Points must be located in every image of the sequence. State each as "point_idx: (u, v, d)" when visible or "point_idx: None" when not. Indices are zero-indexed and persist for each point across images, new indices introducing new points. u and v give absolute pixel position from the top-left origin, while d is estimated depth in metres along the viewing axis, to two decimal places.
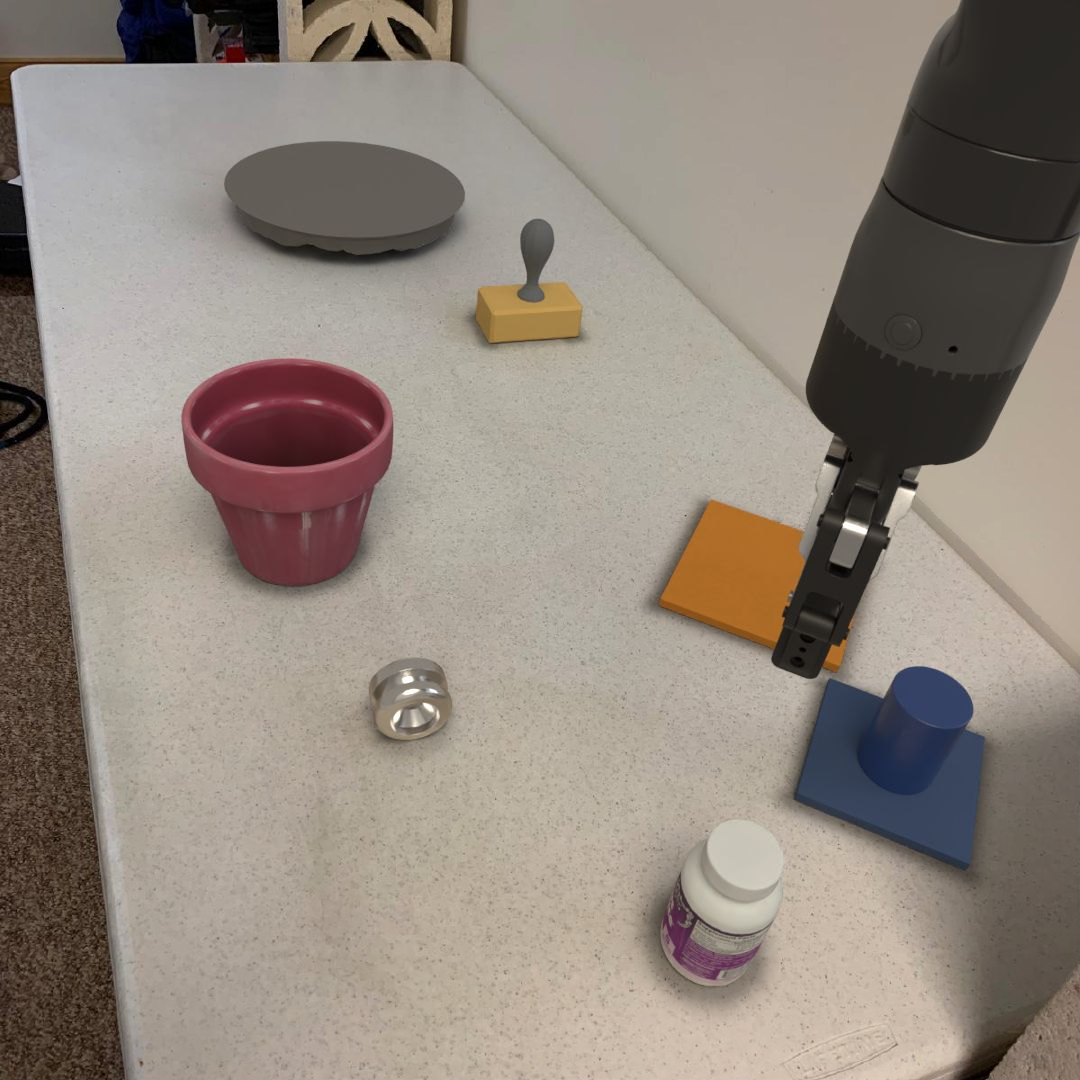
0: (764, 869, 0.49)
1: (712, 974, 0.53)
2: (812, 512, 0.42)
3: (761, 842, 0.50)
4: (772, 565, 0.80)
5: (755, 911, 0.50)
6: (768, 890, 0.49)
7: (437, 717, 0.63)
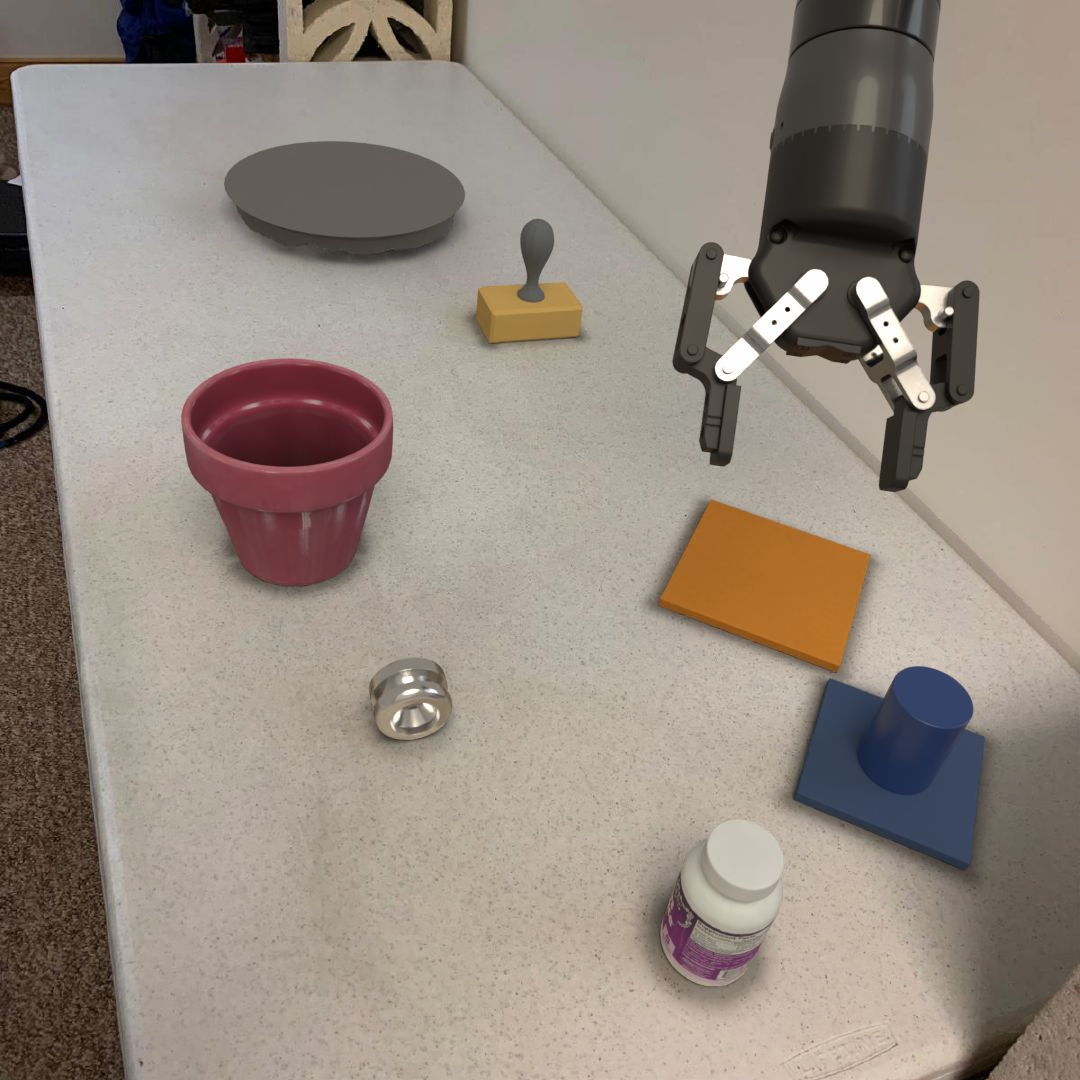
0: (764, 869, 0.49)
1: (712, 974, 0.53)
2: None
3: (761, 842, 0.50)
4: (772, 565, 0.80)
5: (755, 911, 0.50)
6: (768, 890, 0.49)
7: (437, 717, 0.63)
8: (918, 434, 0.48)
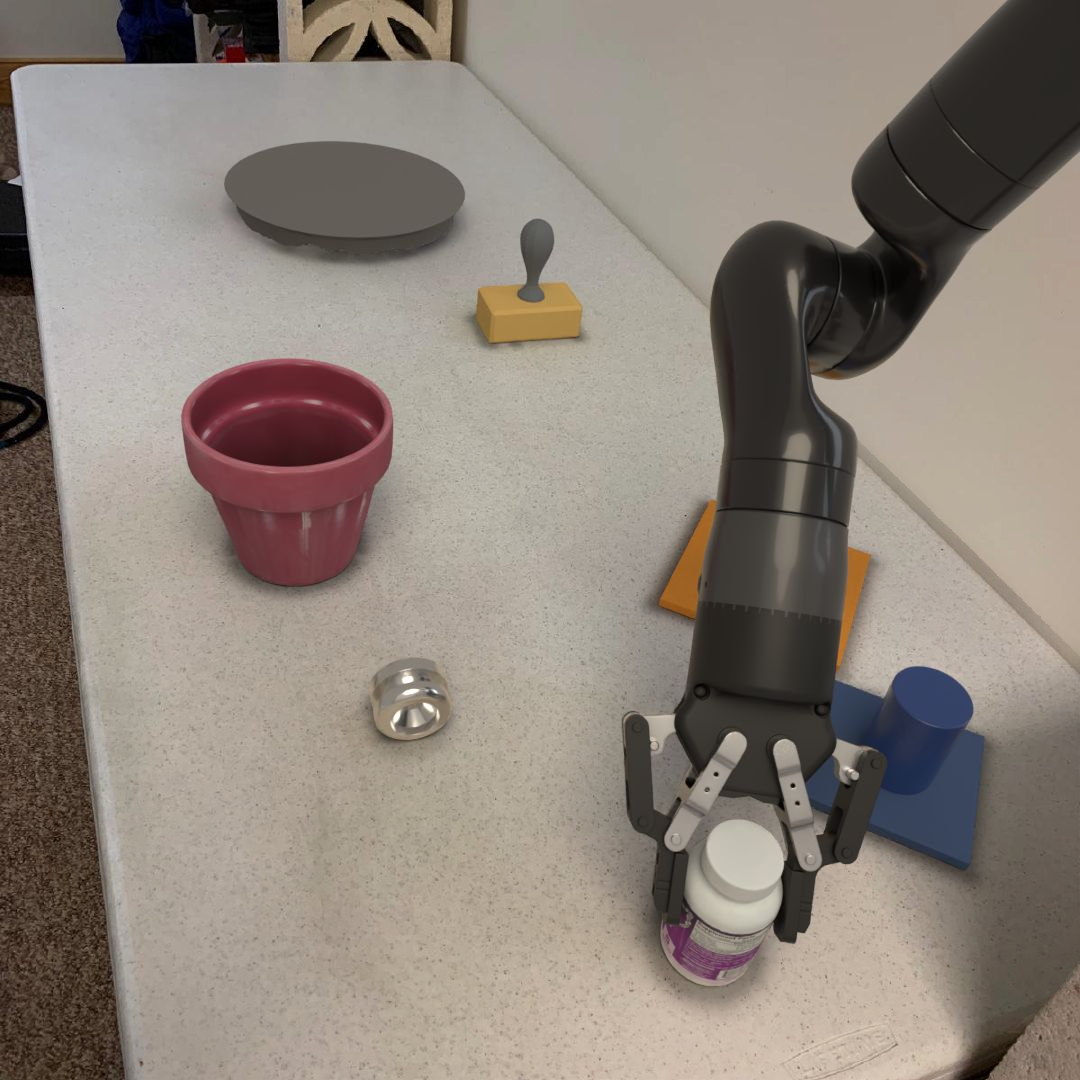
0: (764, 869, 0.49)
1: (711, 974, 0.53)
2: None
3: (761, 842, 0.50)
4: None
5: (755, 911, 0.50)
6: (767, 890, 0.49)
7: (437, 717, 0.63)
8: (806, 890, 0.51)
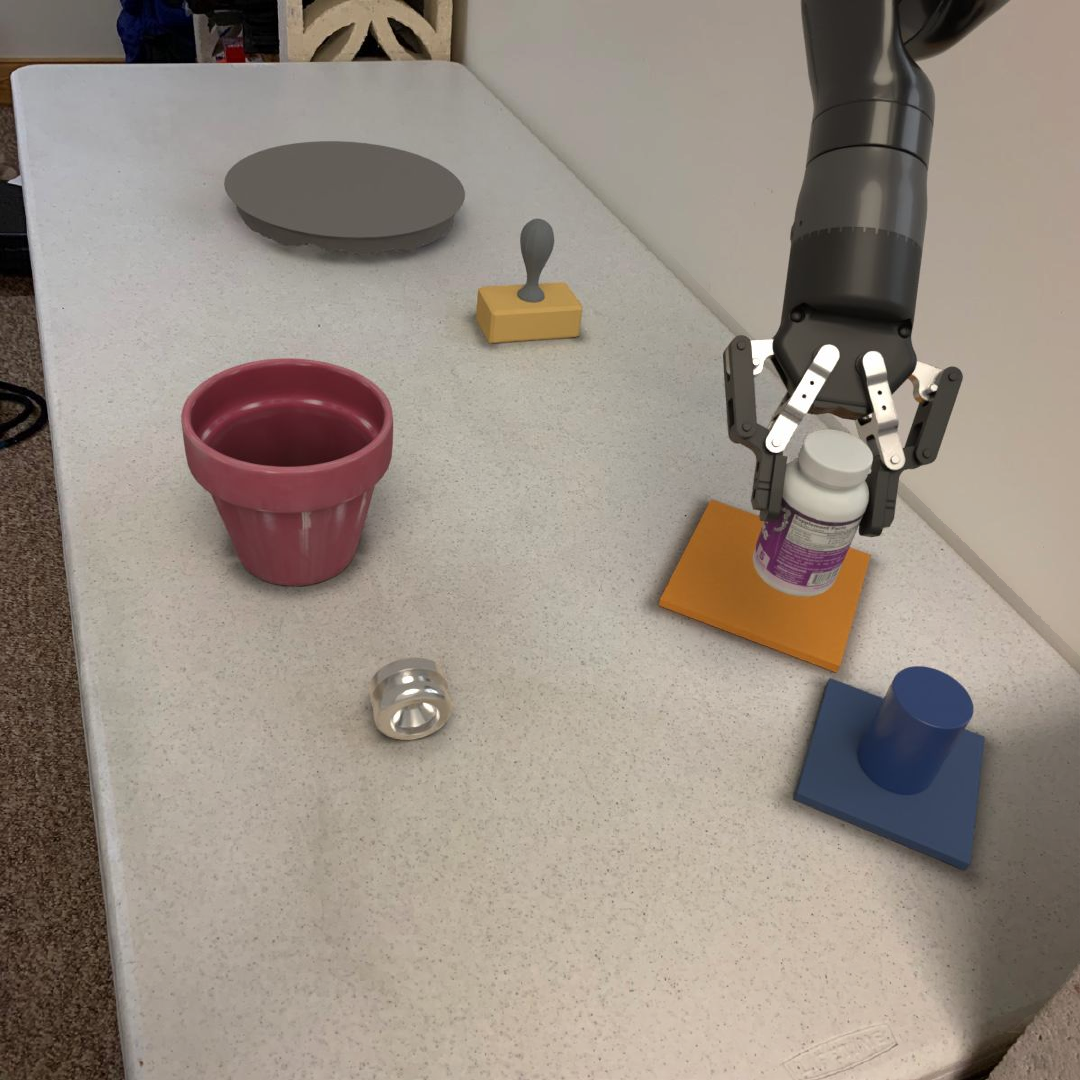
0: (856, 459, 0.56)
1: (803, 578, 0.59)
2: (786, 393, 0.60)
3: (851, 443, 0.57)
4: None
5: (847, 500, 0.56)
6: (859, 476, 0.55)
7: (437, 717, 0.63)
8: (890, 489, 0.57)
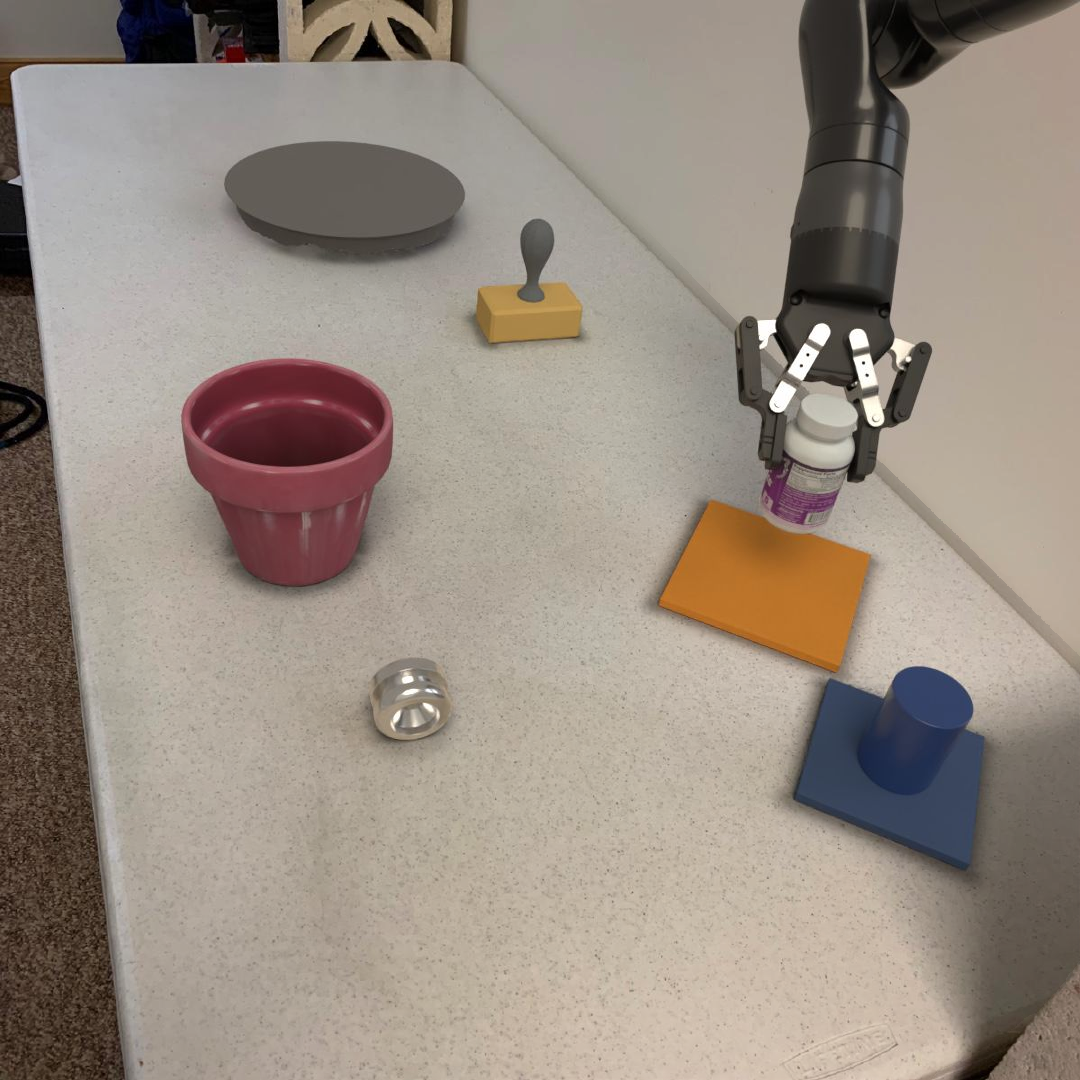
0: (843, 417, 0.68)
1: (801, 517, 0.72)
2: None
3: (840, 404, 0.69)
4: (772, 565, 0.80)
5: (836, 451, 0.69)
6: (846, 430, 0.68)
7: (437, 717, 0.63)
8: (872, 443, 0.70)
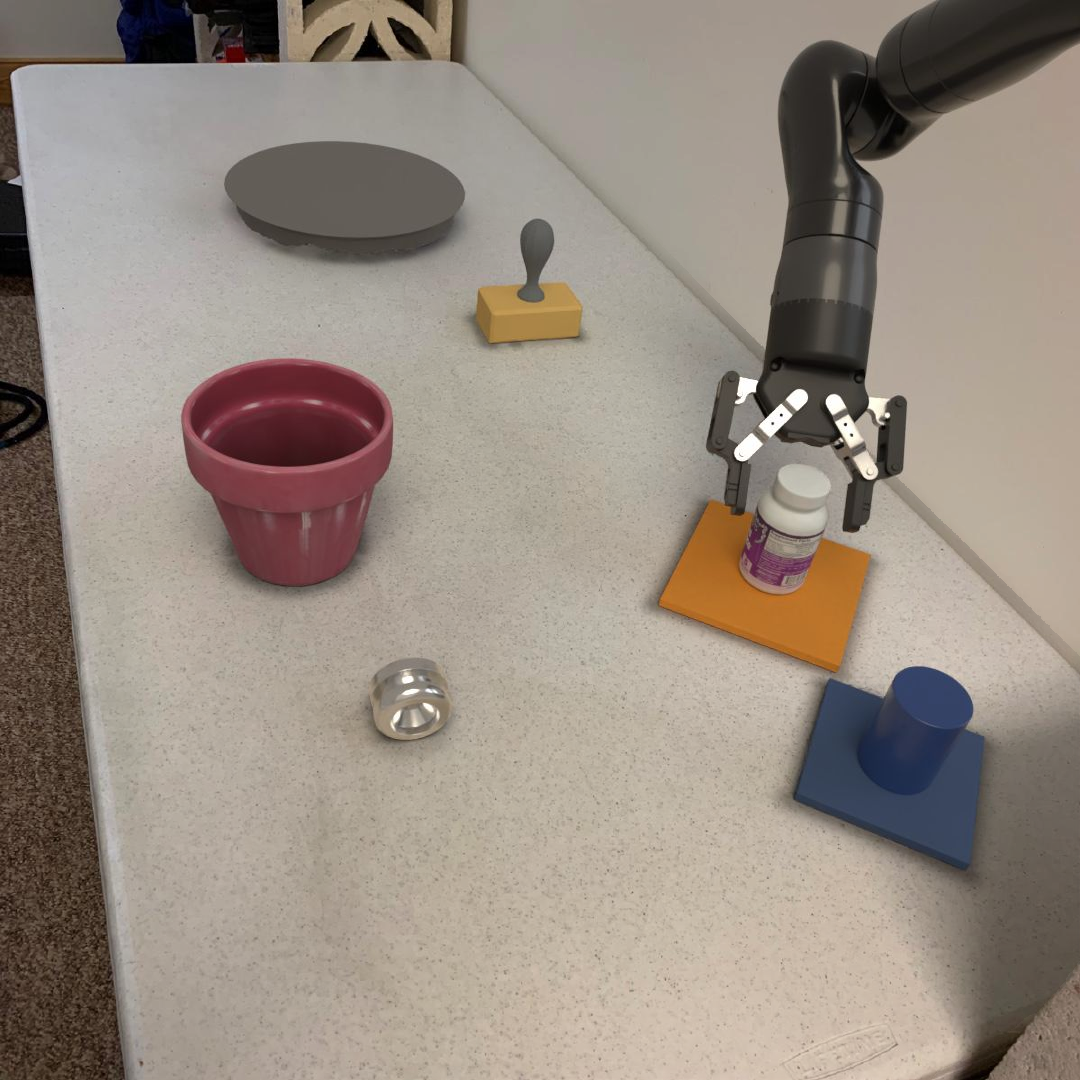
0: (817, 487, 0.72)
1: (778, 579, 0.76)
2: (763, 420, 0.76)
3: (814, 475, 0.73)
4: None
5: (811, 519, 0.73)
6: (820, 501, 0.72)
7: (437, 717, 0.63)
8: (866, 495, 0.73)
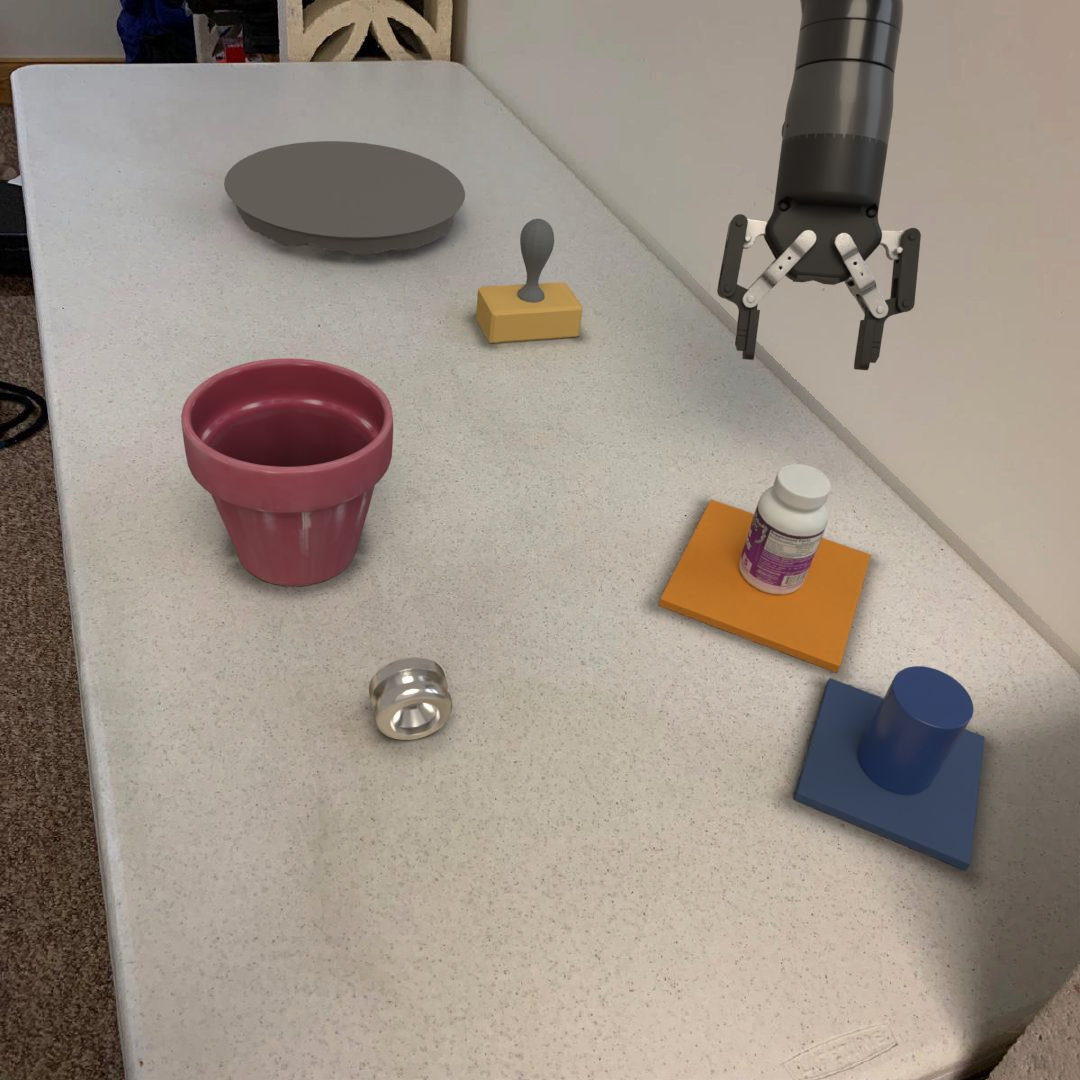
0: (817, 488, 0.72)
1: (778, 579, 0.76)
2: None
3: (814, 475, 0.73)
4: None
5: (811, 519, 0.73)
6: (820, 501, 0.72)
7: (437, 717, 0.63)
8: (877, 333, 0.74)
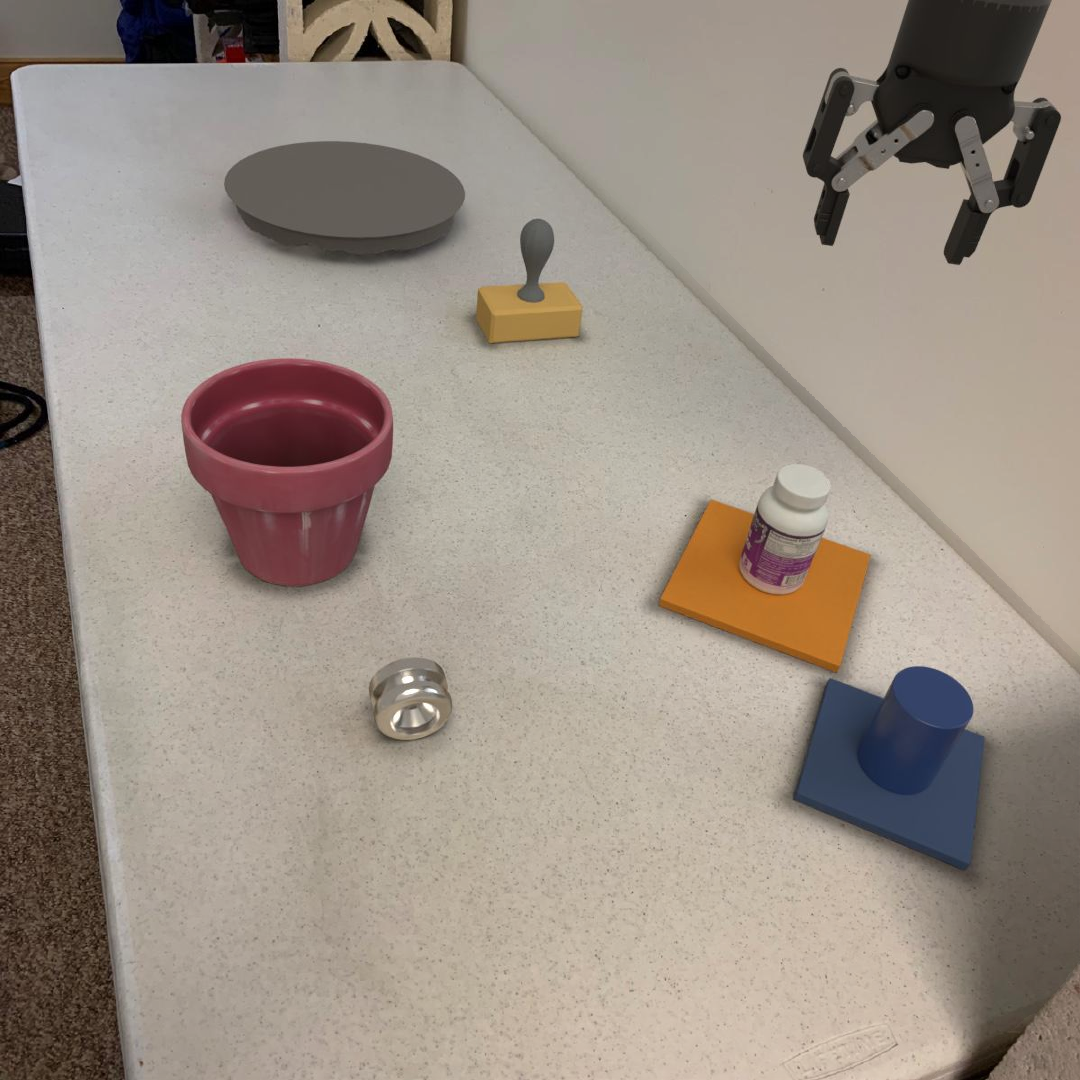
0: (817, 488, 0.72)
1: (778, 579, 0.76)
2: None
3: (814, 475, 0.73)
4: None
5: (811, 519, 0.73)
6: (820, 501, 0.72)
7: (437, 717, 0.63)
8: (979, 226, 0.64)
